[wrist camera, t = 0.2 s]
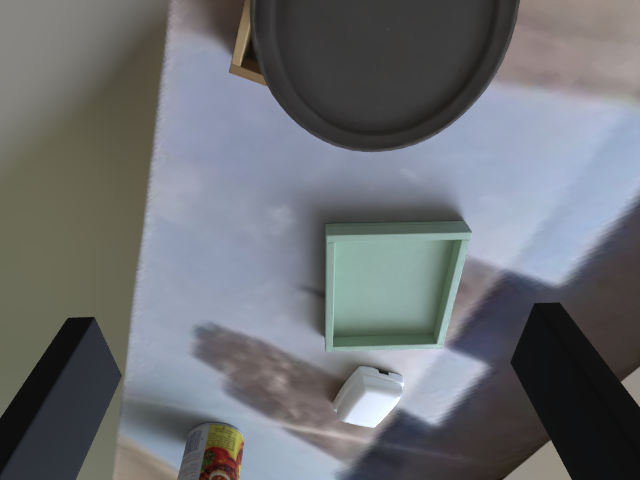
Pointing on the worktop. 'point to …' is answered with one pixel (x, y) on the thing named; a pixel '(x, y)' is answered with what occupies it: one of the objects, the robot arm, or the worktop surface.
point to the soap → (368, 396)
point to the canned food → (212, 453)
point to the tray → (391, 283)
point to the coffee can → (379, 64)
